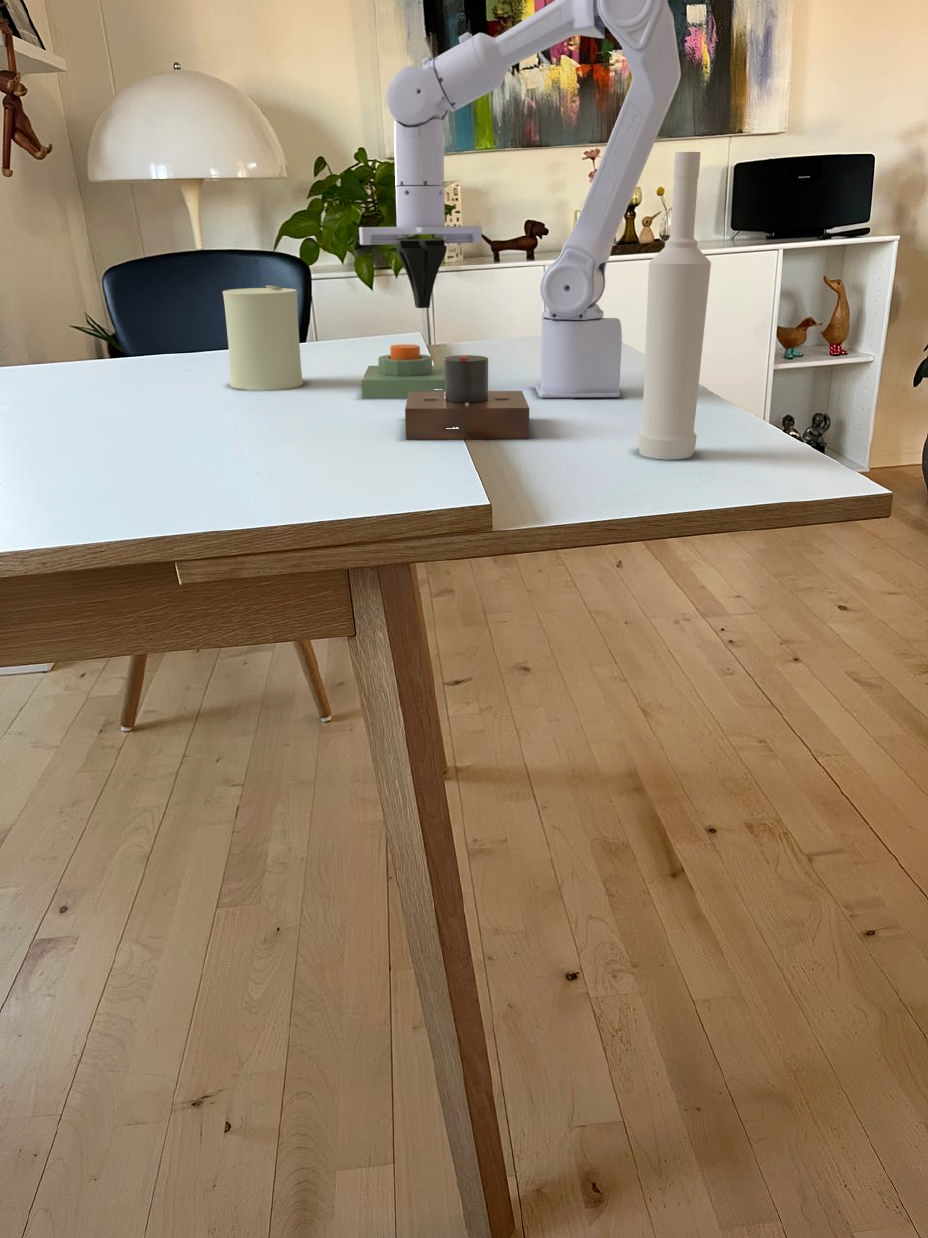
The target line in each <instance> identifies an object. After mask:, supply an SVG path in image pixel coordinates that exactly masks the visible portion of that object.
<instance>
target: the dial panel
mask: <svg viewBox="0 0 928 1238" xmlns="http://www.w3.org/2000/svg"><path fill="white" fill-rule="evenodd" d="M404 421H405V423H404V424H405V440H513V439H514V440H515V439H516V440H521V439H522V440H523V439H524V440H525V439H526V440H527V439H530V407H529V404H528V402H527V400H526V397H525V394H524V392H523V390H488V399H487V400H485V401H481V402H468V403H464V402H451V401H447V400H445V395H444V391H409V392H408V397H407V398H406V403H405V408H404ZM453 427H455V428H456V427H458V428H459V429H446V428H453Z"/></svg>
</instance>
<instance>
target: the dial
mask: <svg viewBox="0 0 928 1238" xmlns="http://www.w3.org/2000/svg"><path fill="white" fill-rule="evenodd" d="M443 365H444V395H445V400H447V401H451V402H464V403H468V402H481V401H485V400H487V399H488V391H489V357H487V356H485V355H484V356H483V355H476V354H475V355H473V354H462V355H450V356H445V357H444V358H443Z"/></svg>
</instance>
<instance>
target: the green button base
mask: <svg viewBox="0 0 928 1238" xmlns="http://www.w3.org/2000/svg"><path fill="white" fill-rule="evenodd" d="M360 381H361V399H362V400H367V399H370V400H371V399H372V400H374V399H375V400H377V399H379V400H381V399H382V400H383V399H384V400H385V399H386V400H387V399H388V400H390V399H407V397H408V392H409V391H444V364H433V356H432V355H428V354H421V353H420V359H412V360H396V359H391V354H385V355H380V356H378V365H368V366H367V368H366V370H365V372H364V374H363V376H362V378H361V380H360ZM434 389H443V390H434Z"/></svg>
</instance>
